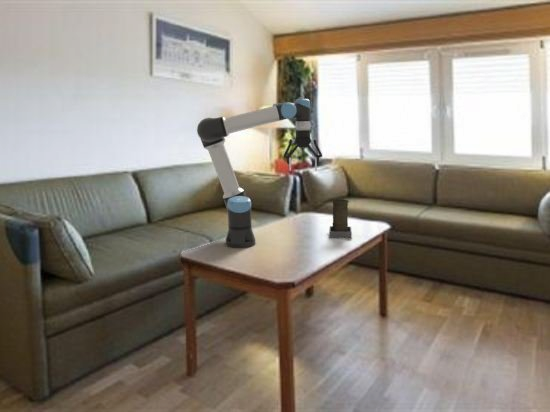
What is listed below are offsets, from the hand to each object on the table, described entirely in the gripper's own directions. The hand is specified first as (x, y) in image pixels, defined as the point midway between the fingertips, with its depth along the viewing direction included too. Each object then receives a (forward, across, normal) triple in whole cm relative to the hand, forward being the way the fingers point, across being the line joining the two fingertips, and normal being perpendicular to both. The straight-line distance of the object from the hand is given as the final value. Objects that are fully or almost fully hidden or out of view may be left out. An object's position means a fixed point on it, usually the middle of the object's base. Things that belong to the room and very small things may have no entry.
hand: (303, 170), depth 244 cm
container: (+34, +20, -1) cm, 39 cm away
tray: (+35, +20, -1) cm, 40 cm away
